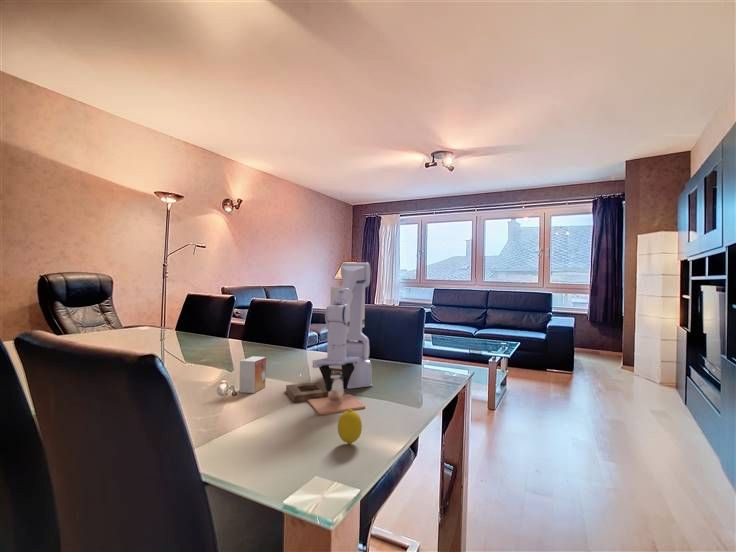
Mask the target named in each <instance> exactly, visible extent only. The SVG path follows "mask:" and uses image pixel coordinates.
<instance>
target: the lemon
mask: <svg viewBox="0 0 736 552" xmlns="http://www.w3.org/2000/svg"><path fill="white" fill-rule="evenodd" d="M337 421H338V422H337V434H338V436H339V438H340V439H341V441H343V442H345V443H346V444H347V445H352V444H353V443H355V442H357V440H358V439H360V437H361V434H362V430H363V425H362V419H361V417H360V414H359V413H357V412H356V411H355V410H351V409H349V410H348V411H343V412H341V414H340V416H339V418H338V420H337Z"/></svg>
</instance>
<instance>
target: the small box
mask: <svg viewBox="0 0 736 552" xmlns="http://www.w3.org/2000/svg"><path fill="white" fill-rule="evenodd" d="M266 367H267V357H266V356H253V355H252V356H250V357H248V358H247V357H246V358H245V359H241V360H240V361H239V388H238V389H239V391H238V392H239V393H247V394H255V393H257V392H259V391H261V390H262V389H265V388H266V379H267V378H266V376H267V375H266V374H267V371H266V370H267V368H266Z"/></svg>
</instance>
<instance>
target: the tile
mask: <svg viewBox="0 0 736 552" xmlns="http://www.w3.org/2000/svg"><path fill="white" fill-rule="evenodd" d="M307 402H308V404H309V405H310V406H311V407H312V408H313V409H314V410H315V412H316V413H317V414H318V415H319V416H322V415H329V414H335V413H344V412H345V411H348V410H349V409H351V410H352V411H355V410H363V409H366V405H365V404H363V403H362V402H361V401H359V400H358V399H357V398H355V397H354V396H353V395H352V394H344V399H343V400H342V401H330V400H328V397H325V398H318V399H310V400H308V401H307Z"/></svg>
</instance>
